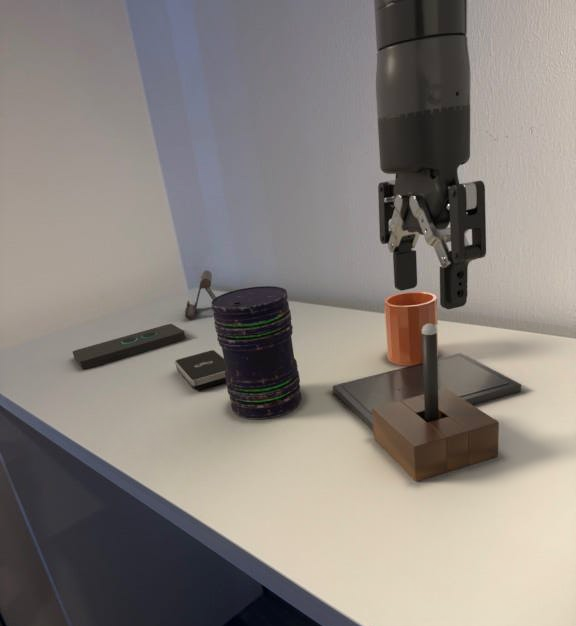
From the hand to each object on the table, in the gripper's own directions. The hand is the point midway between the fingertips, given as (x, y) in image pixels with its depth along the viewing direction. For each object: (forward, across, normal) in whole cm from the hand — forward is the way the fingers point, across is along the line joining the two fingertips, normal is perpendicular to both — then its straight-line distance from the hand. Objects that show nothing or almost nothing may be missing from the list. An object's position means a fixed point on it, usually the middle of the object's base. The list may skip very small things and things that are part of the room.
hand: (427, 297), depth 51 cm
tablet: (+17, +12, -6) cm, 22 cm away
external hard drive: (+17, +36, +19) cm, 44 cm away
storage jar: (+17, +21, +13) cm, 30 cm away
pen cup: (+17, +24, -11) cm, 31 cm away
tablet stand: (+17, +74, +13) cm, 77 cm away
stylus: (+17, 0, 0) cm, 17 cm away
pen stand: (+17, 0, 0) cm, 17 cm away
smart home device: (+17, +59, +30) cm, 68 cm away
